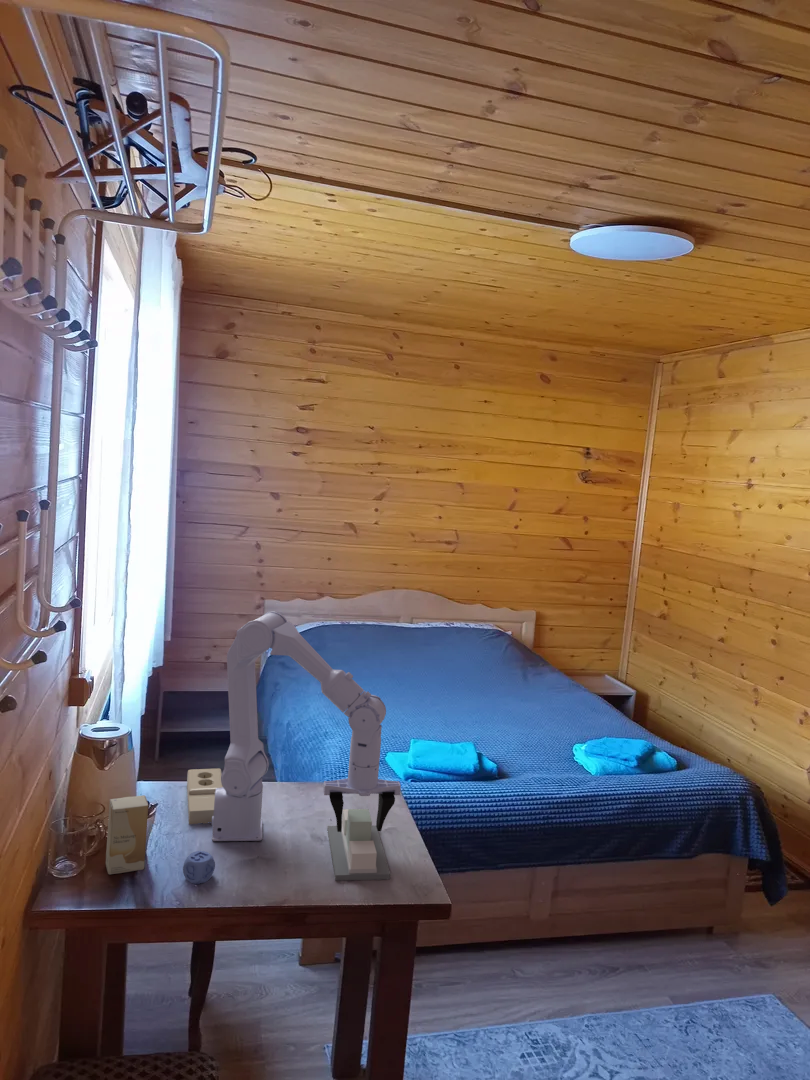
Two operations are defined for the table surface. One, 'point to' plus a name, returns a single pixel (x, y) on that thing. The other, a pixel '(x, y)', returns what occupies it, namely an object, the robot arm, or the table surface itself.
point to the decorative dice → (198, 867)
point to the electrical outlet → (202, 794)
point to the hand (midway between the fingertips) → (358, 829)
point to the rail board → (342, 860)
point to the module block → (358, 825)
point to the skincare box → (126, 834)
